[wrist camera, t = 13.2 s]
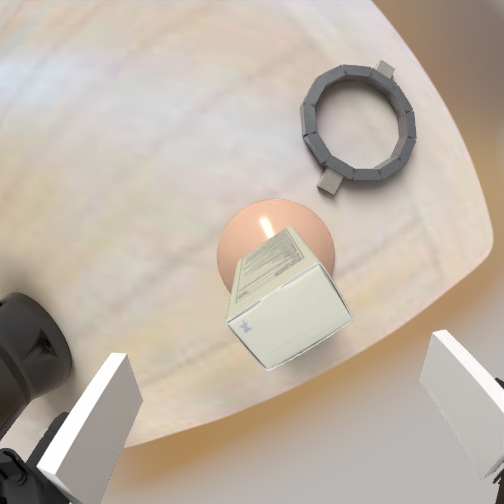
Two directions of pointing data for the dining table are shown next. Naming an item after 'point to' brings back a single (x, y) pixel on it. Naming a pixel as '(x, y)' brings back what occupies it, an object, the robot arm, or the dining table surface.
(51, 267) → the dining table surface
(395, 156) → the bayonet collar
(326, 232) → the peach dome button
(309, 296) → the skincare box
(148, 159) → the dining table surface
